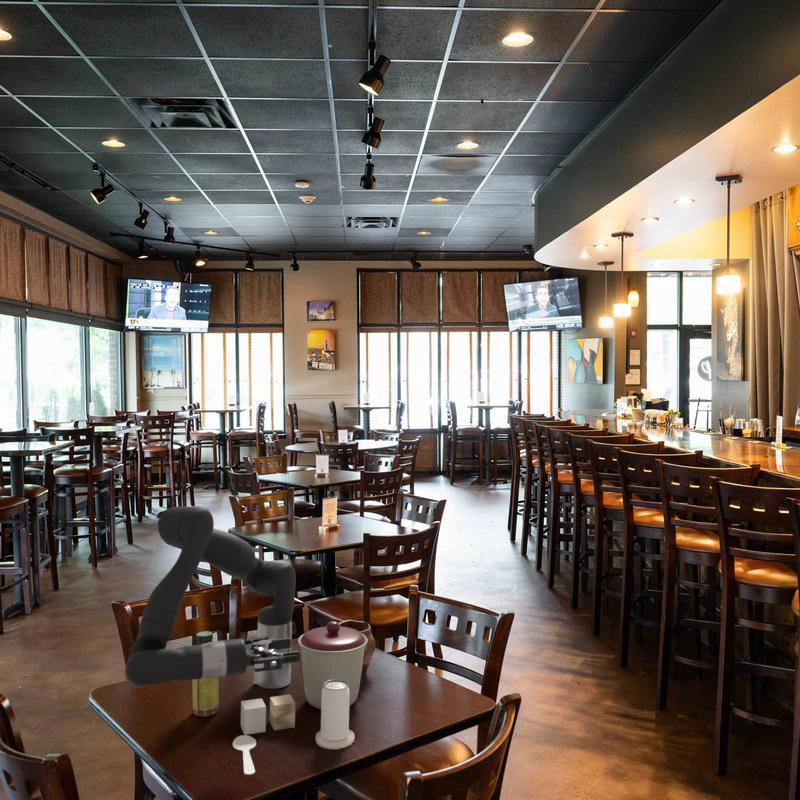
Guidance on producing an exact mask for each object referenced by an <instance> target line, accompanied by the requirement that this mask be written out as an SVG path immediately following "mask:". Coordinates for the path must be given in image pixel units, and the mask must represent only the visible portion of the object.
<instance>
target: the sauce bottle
mask: <svg viewBox="0 0 800 800" xmlns="http://www.w3.org/2000/svg"><path fill="white" fill-rule="evenodd" d="M195 635H196V636H195V640H196V645H201V644H206V643H209V642H213V638H214V633H213V632H212V631H207V630H206V631H199V632H197V633H196V634H195ZM191 682H192V687H191V688H192V689H191V690H192V708H193V715H195V716H197V717H199V718H207V717H211V716H213V715H214V716H215V715H216V713H218V710H219V677H218V678H201V679H195V680H191Z"/></svg>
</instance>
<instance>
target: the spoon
mask: <svg viewBox="0 0 800 800" xmlns="http://www.w3.org/2000/svg"><path fill="white" fill-rule="evenodd" d="M256 746H257V740H256V739H255V738H254V737H252V736H250V735H248V734H247V735H244V734H243V735H238V736H237V737H235V739H233V742H232V747H233V748H234V749H235V750H237V751H241V752H242V760H243V761H242V762H243V773H244V774H245V775H249V776H250V775H253V774H255V773H256V769H255V766H254V762H253V760H252V759H253V758H252V756H251V753H250V750H252V749H254V748H255V747H256Z"/></svg>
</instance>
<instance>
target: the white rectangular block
mask: <svg viewBox="0 0 800 800" xmlns="http://www.w3.org/2000/svg"><path fill="white" fill-rule="evenodd" d="M266 718H267V706H266V704H265V702H264V700H263V698H255V699H248V700H247V699H246V700H241V701H240V727H241V730H242V733H243V735H247V736H248V735H252V734H259V733H265V732H266V730H267V729H266V724H267V719H266Z"/></svg>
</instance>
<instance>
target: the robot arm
mask: <svg viewBox="0 0 800 800" xmlns="http://www.w3.org/2000/svg"><path fill="white" fill-rule="evenodd" d="M214 523H215V522H214V516H213V515H212V513H211V511H210V510H209V509H207V508H205V507H200V506H199V507H198V506H197V507H196V506H181V505H180V506H177V505H176V506H172V507H170V508H167V509H165V510H164V511H163V512H162V513H161V514H160V516H159V518H158V522H157V531H158V534H159V536H160V538H161V539H162V540H163V542H164V543H165V544H167V545H168V546H170V547H174V548H176V549H180V550H181V551H180V554H179V555H178V557H177V560H176V561H175V563H174V564H173V566H172V568H171V569H170V570H169V571H168V572H167V573H166V574H165V576H164V577H163V578H162V579H161V581H160V582H158V584H157V585H156V586H155V588H154V589H153V591H152V592H151V594H150V595H149V597H148V599H147V602H146V604H145V607H144V611H143V613H142V617H141V619H140V623H139V627H138V630H137V631H138V632H137V636H136V639H135V641H134V644H133V647H132V649H131V650H130V651H131V652H130V654H129V656H128V660H127V662H126V665H125V668H124V675H125V679H126V681H127V683H128V684H130V685H131V686H133V687H135V688H145V687H148V686H151V685H155V684H156V685H157V684H163V683H168V682H169V683H170V682H173V681H174V682H175V681H177V682H185V681H192V680H195V679H201V678H218V679H219V678H224V677H232V676H238V675H244V674H245V673H246V671H247V668H248V666H249V667H253V685H257V686H258V687H260V688H263V689H271V690H272V689H273V690H274V689H280V688H284V687H287V686H289V685H290V684H291V678H292V676H291V675H292V673H291V672H292V663H297V662H300V661H301V652H300V651H299V650H294V651H292V635H293V634H292V629H293V628H292V623H293V622H292V621H293V612H294V608H295V597H296V595H295V593H296V582H297V581H296V580H297V577H296V576H297V575H296V570H295V568H294V566H293V565H292V564H290V563H284V562H279V561H278V562H277V561H269V560H264V559H261V558H259V557H256V553H255V552H256V551H255V549H254V548H253V546H252V545H251V544H250V543H249V542H247V541H246V540H243V539H242V538H241V537H239V536H238V535H235V534H233V533H230V532H227V531H225V530H224V531H223V530H222V529H221V530H220V529H217V528H214V527H215V526H214V525H215V524H214ZM201 560H202V561H203V562H205V563H207V564H209V565H211V566H212V567H214V568H216V569H218V571H221V572H223V573H225V574H226V575H228V576H231V577H233V578H235V579H236V580H240V581H242V582H244V583H245V584H246V585H247V586H249V588H251V589H252V590H253V591H254V592H256V593H258V594H259V595H263V596H267V597H274V598H273V604H272V605H269V606H265V607H263V608H261V609H259V611H258V612H257V613H258V615H257V637H251V638H245V639H244V638H235V639H234V638H233V639H224V640H217V641H212V642H209V643H206V644H201V645H197V644H194V645H188V646H187V645H185V646H182V647H181V646H180V647H176V648H166V647H167V645H168V642H169V640H170V637H171V636H172V633H173V631H174V627H175V624H176V621H177V617H178V613H179V611H180V608H181V604H182V602H183V599H184V596H185V594H186V591H187V589H188V587H189V585H190V583H191V581H192V579H193V576H194V575H195V573H196V571H197V569H198V567H199V564H200V563H201Z"/></svg>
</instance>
